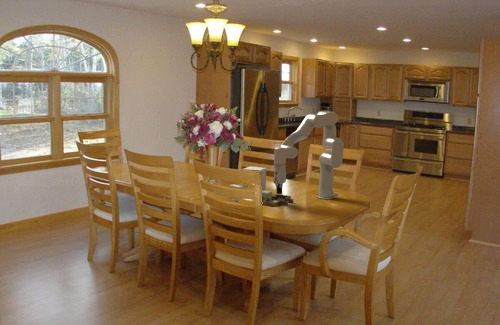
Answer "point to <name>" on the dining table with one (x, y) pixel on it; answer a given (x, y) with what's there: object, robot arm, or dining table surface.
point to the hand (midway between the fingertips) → (279, 193)
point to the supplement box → (263, 176)
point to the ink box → (235, 187)
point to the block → (267, 194)
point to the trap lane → (278, 200)
